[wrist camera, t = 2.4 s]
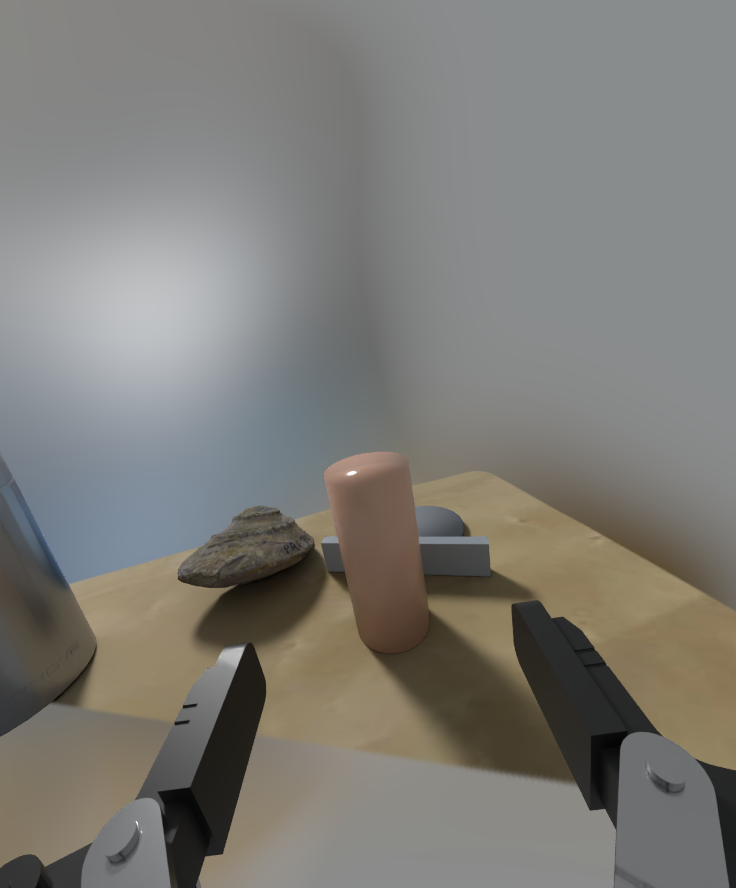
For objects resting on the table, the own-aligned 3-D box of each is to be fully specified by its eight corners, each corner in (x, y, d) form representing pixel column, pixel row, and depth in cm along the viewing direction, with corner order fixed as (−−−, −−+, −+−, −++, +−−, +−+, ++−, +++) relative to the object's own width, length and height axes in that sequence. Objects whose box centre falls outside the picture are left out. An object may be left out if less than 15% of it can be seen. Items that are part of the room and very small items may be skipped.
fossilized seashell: (335, 551, 31) (289, 493, 29) (239, 653, 26) (175, 593, 24) (295, 529, 40) (257, 484, 38) (218, 602, 36) (170, 555, 33)
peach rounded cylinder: (348, 649, 23) (310, 487, 19) (367, 592, 28) (339, 454, 24) (426, 657, 21) (401, 483, 18) (432, 596, 26) (413, 449, 23)
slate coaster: (376, 554, 32) (375, 549, 32) (391, 511, 40) (390, 506, 39) (464, 556, 30) (463, 550, 30) (463, 510, 37) (462, 505, 37)
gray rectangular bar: (327, 571, 31) (321, 543, 30) (331, 564, 32) (325, 536, 31) (490, 576, 27) (488, 544, 26) (489, 568, 28) (487, 536, 27)
